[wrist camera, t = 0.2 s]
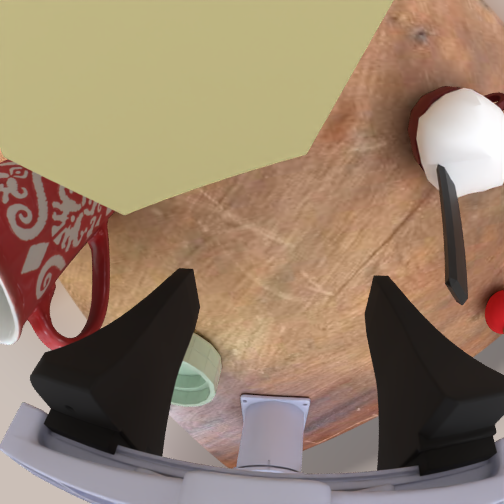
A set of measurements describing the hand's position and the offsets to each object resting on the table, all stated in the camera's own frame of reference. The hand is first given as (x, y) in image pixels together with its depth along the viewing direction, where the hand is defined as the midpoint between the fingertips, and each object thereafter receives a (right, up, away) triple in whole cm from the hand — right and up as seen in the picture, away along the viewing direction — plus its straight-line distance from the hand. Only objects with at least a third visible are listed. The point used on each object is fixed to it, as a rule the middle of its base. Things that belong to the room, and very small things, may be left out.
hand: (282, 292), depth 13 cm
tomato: (+22, -3, +11) cm, 24 cm away
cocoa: (+11, +10, +5) cm, 15 cm away
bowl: (-9, -9, +19) cm, 23 cm away
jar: (-1, +14, +3) cm, 14 cm away
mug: (-13, +6, +10) cm, 18 cm away
